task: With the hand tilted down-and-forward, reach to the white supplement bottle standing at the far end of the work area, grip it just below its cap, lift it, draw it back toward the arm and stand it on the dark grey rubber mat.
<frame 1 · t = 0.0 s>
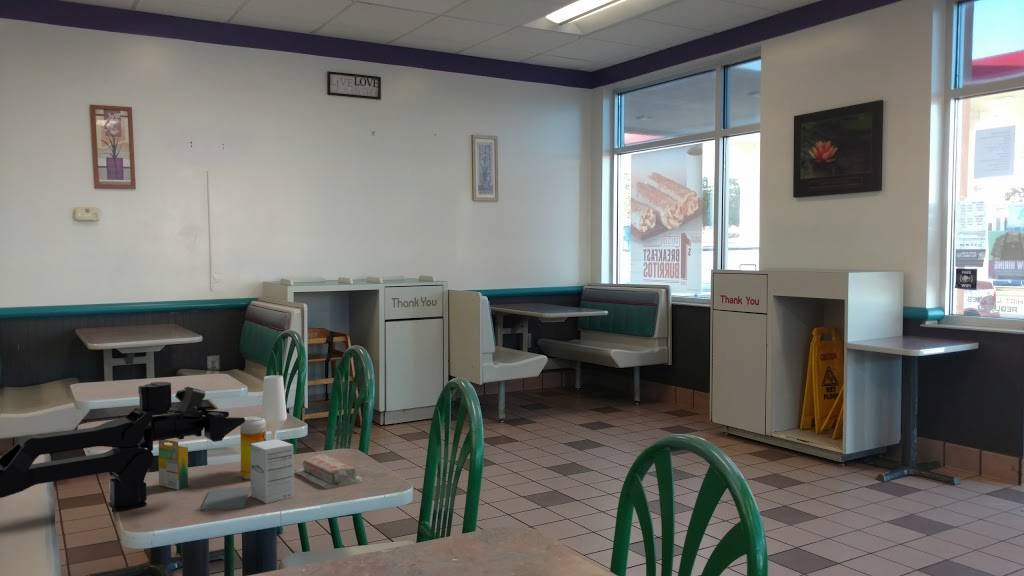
hand: (236, 416, 194), 17 cm above the table, tool horizontal, fingers open, 9 cm apart
packaged product: (328, 480, 201), on the table
champagne flute: (274, 467, 210), on the table
supplement box: (272, 497, 184), on the table
beer can: (253, 477, 201), on the table
crayon box: (173, 487, 192), on the table
mat: (226, 499, 182), on the table
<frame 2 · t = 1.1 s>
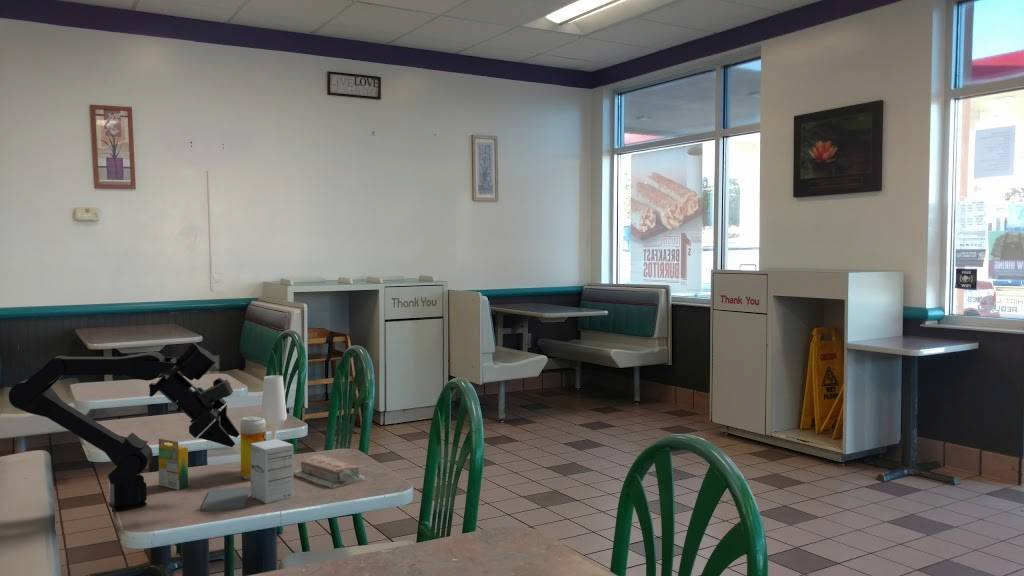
hand: (236, 440, 182), 14 cm above the table, tool tilted 45°, fingers open, 9 cm apart
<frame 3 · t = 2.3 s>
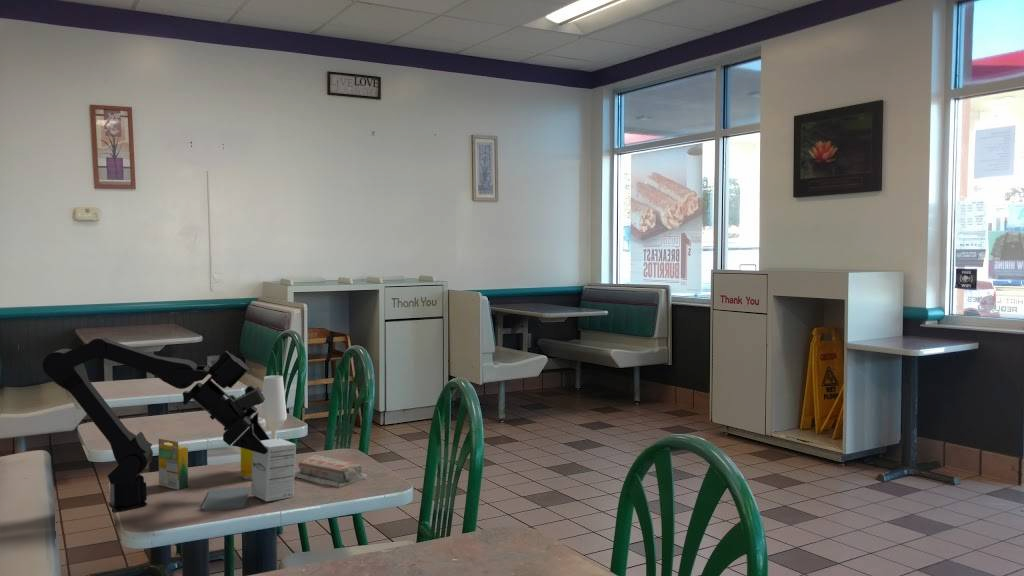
hand: (268, 447, 184), 12 cm above the table, tool tilted 45°, fingers open, 9 cm apart
supplement box: (272, 496, 184), on the table, touching gripper
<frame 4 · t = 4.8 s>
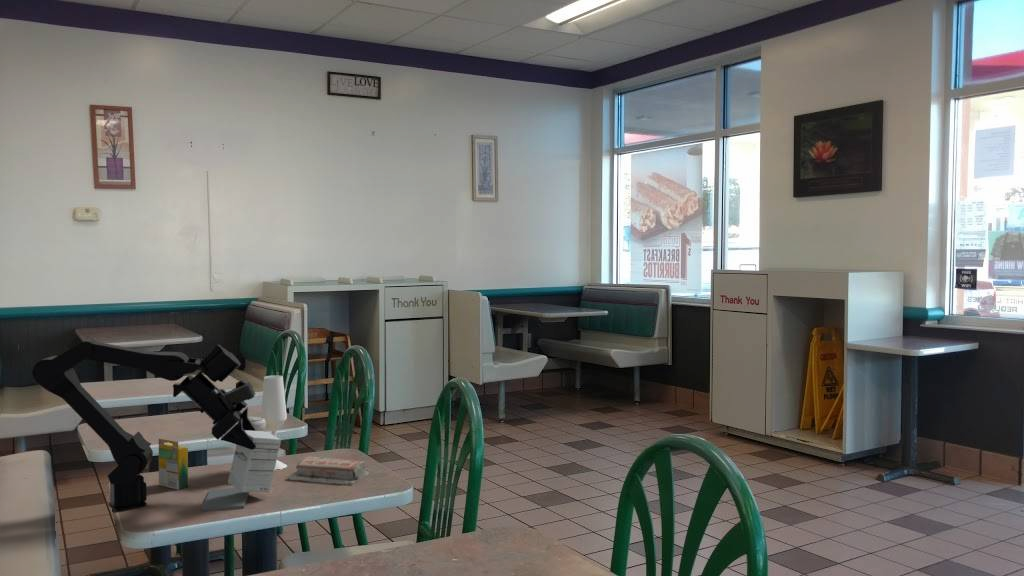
hand: (256, 443, 183), 13 cm above the table, tool tilted 45°, fingers closed on supplement box, 9 cm apart
supplement box: (248, 488, 183), point 2 cm above the table, touching gripper
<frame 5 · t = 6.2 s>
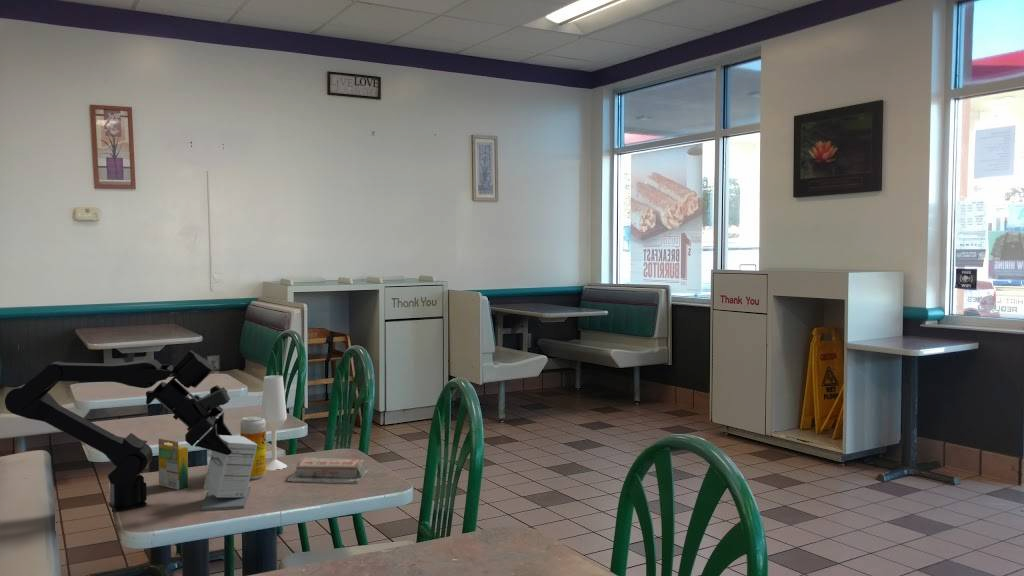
hand: (232, 448, 182), 12 cm above the table, tool tilted 45°, fingers closed on supplement box, 9 cm apart
supplement box: (224, 494, 182), point 1 cm above the table, touching gripper, mat
when the fingers open (12 cm above the table, at t = 6.9 s): supplement box stays where it is, resting on mat.
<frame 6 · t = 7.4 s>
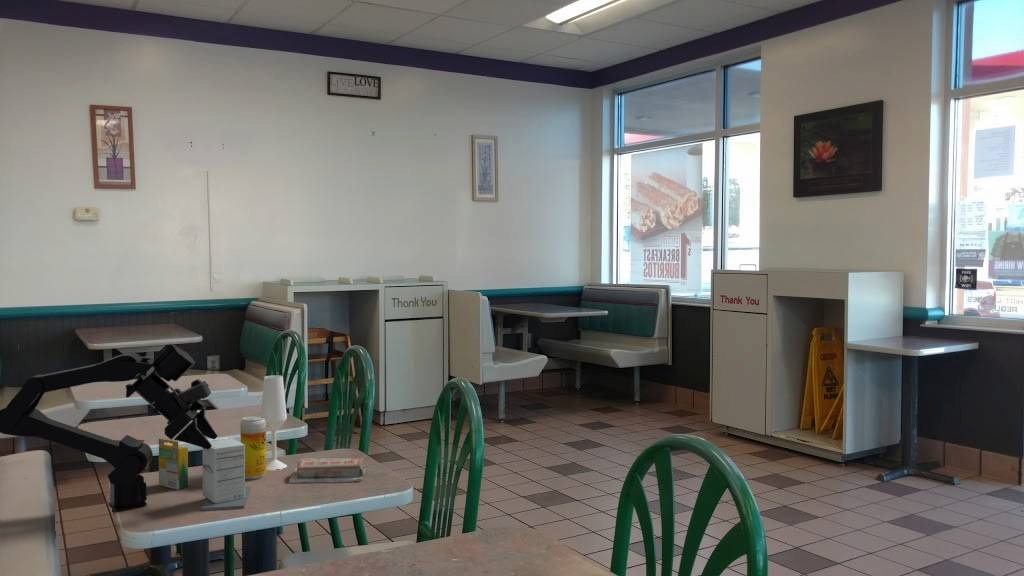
hand: (213, 442, 181), 13 cm above the table, tool tilted 45°, fingers open, 9 cm apart
supplement box: (223, 498, 182), resting on mat
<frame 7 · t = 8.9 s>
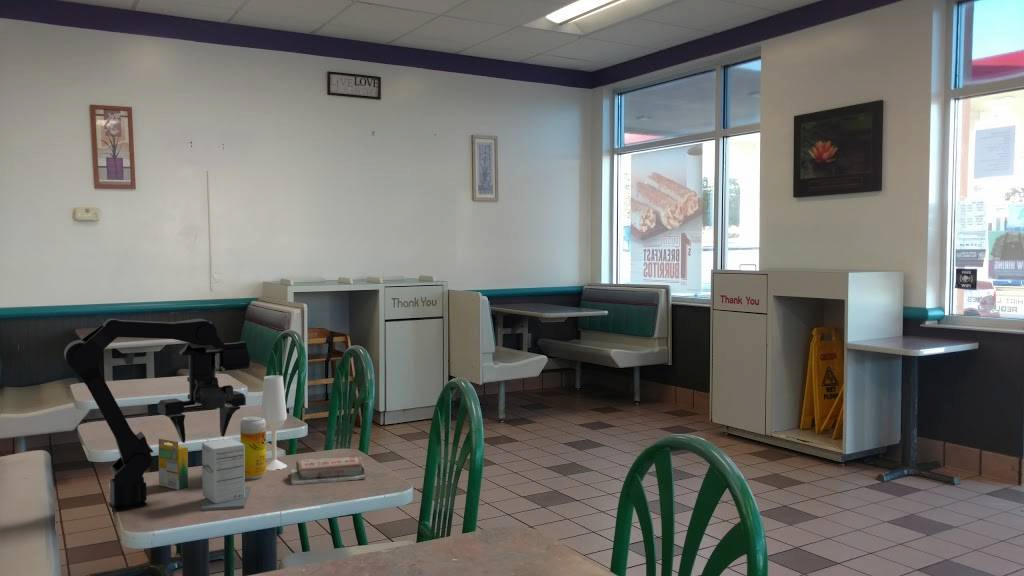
hand: (203, 439, 185), 13 cm above the table, tool pointing down, fingers open, 9 cm apart
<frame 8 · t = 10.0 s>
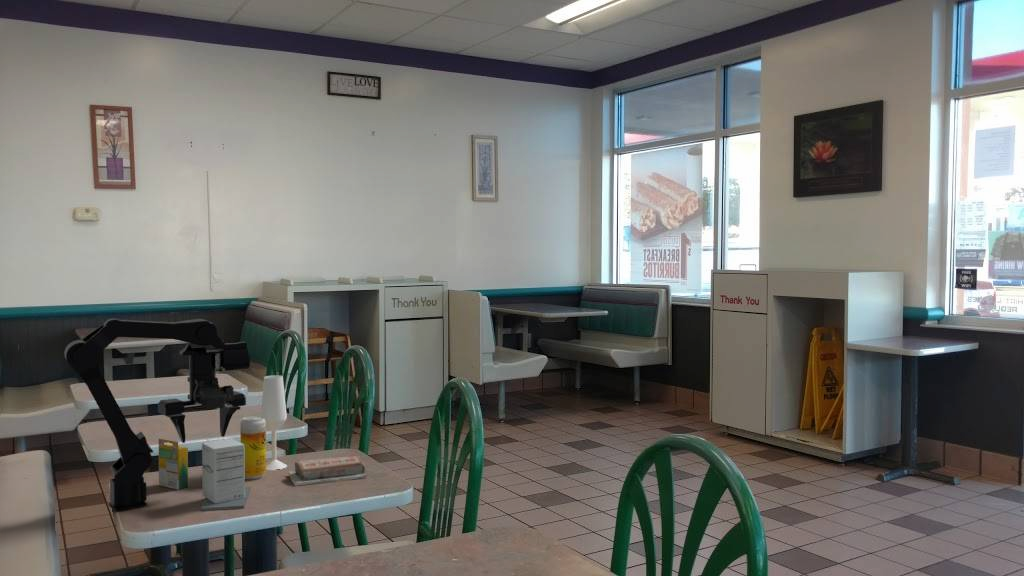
hand: (203, 439, 185), 13 cm above the table, tool pointing down, fingers open, 9 cm apart
at the end: supplement box 0.6 cm from the mat (horizontally); supplement box tilted 0°; the gripper is holding nothing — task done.
